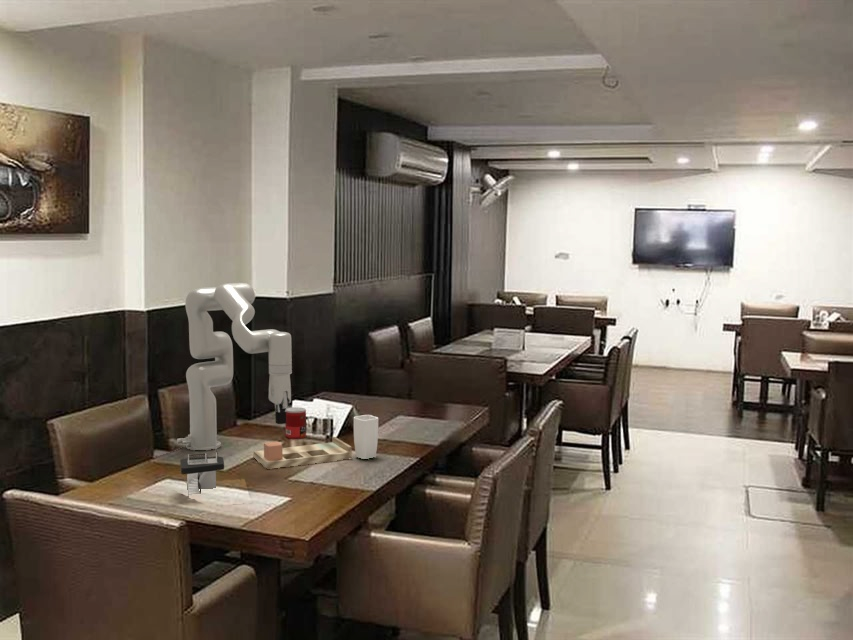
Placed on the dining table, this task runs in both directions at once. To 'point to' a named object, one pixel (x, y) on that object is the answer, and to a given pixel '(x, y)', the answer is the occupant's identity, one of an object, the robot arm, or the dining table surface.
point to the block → (273, 451)
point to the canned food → (295, 423)
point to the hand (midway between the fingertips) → (280, 423)
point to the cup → (365, 436)
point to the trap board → (308, 454)
